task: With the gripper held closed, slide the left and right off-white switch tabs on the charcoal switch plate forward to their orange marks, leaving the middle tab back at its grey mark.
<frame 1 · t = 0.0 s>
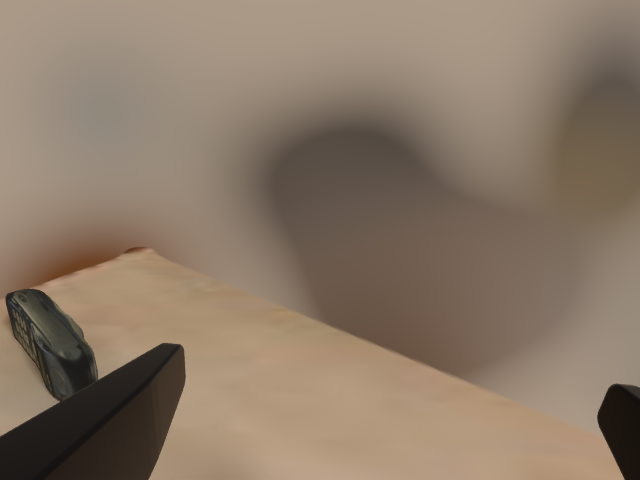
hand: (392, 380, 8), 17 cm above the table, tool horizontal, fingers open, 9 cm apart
mobile phone: (60, 372, 31), on the table
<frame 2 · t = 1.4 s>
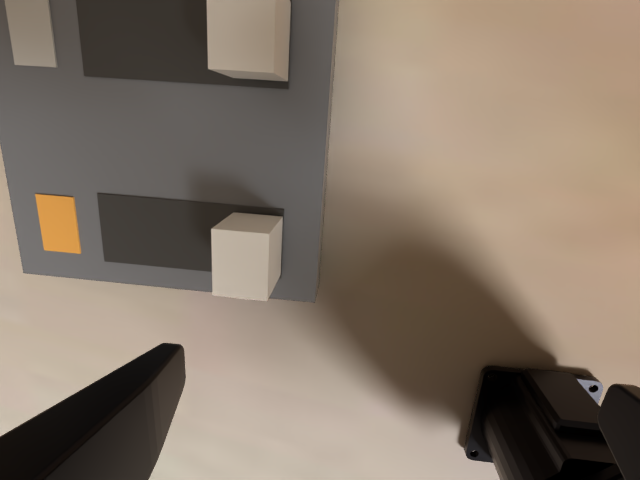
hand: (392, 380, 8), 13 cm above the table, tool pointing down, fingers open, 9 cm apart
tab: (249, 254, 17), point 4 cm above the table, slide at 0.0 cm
switch plate: (171, 45, 19), on the table
tab middle: (252, 33, 15), point 4 cm above the table, slide at 0.0 cm
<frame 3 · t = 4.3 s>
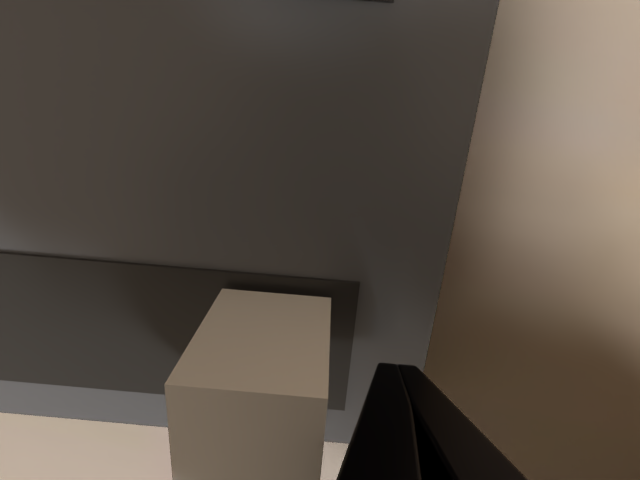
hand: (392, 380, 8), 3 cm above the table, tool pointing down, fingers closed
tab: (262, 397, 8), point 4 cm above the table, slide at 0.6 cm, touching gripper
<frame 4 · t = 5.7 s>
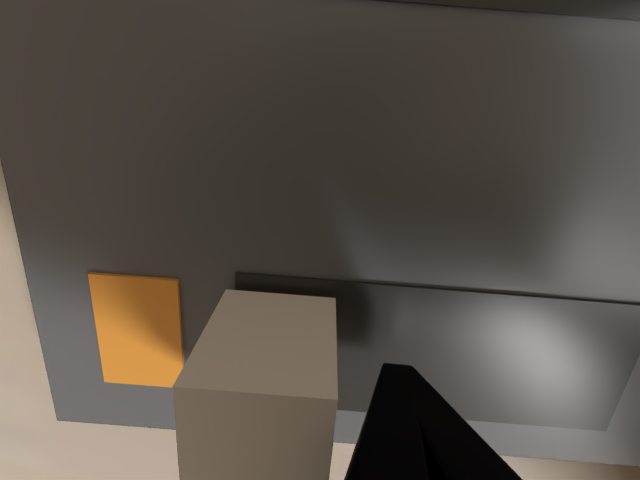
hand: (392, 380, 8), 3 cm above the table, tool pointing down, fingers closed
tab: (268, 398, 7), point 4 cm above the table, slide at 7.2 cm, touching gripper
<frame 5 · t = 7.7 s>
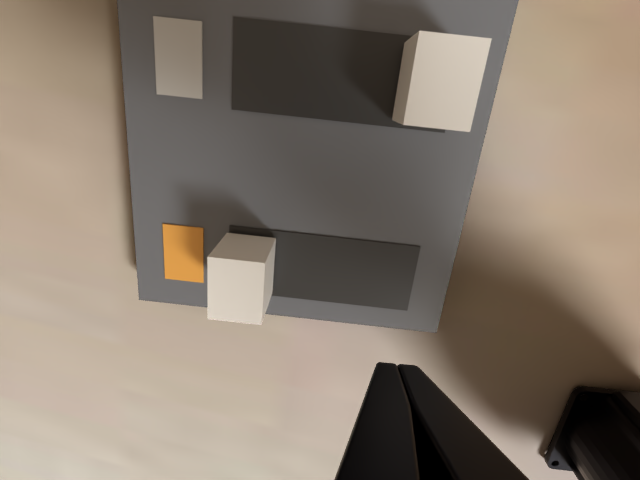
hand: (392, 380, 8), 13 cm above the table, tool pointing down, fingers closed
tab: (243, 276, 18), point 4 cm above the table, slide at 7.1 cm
switch plate: (310, 75, 18), on the table
tab middle: (435, 84, 15), point 4 cm above the table, slide at 0.0 cm
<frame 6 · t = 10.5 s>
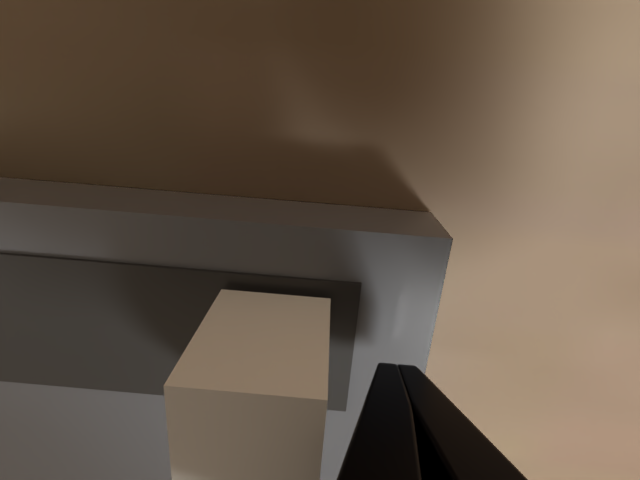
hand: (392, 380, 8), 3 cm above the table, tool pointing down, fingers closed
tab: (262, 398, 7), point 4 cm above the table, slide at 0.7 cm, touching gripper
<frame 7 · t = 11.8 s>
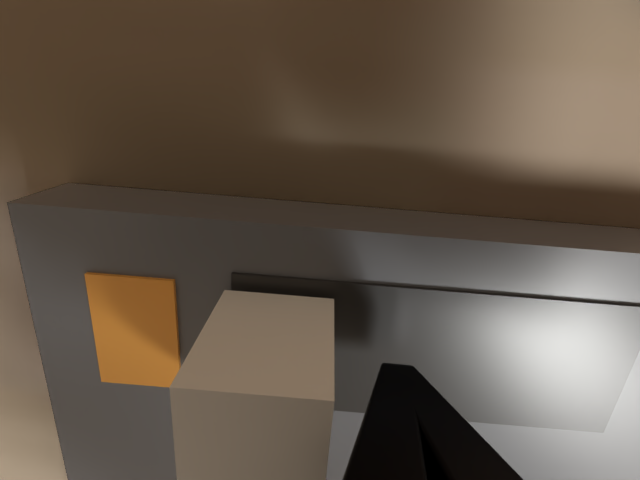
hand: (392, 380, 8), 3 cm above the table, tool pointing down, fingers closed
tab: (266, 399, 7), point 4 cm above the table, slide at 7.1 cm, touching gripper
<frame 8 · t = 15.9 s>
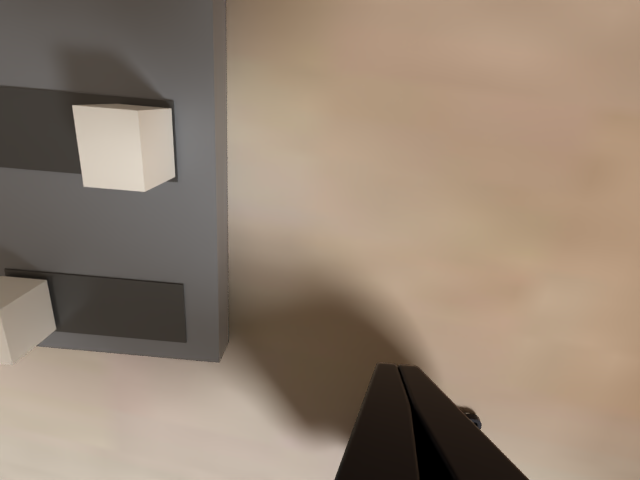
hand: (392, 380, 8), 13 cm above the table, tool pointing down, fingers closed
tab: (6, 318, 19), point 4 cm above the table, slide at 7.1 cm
switch plate: (69, 128, 19), on the table
tab middle: (129, 145, 16), point 4 cm above the table, slide at 0.0 cm
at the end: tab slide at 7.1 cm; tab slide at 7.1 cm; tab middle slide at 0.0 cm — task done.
